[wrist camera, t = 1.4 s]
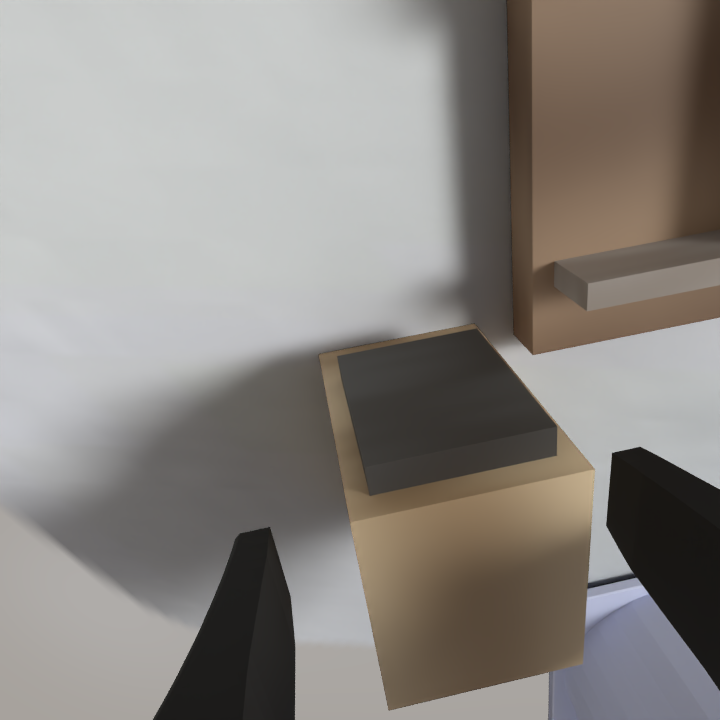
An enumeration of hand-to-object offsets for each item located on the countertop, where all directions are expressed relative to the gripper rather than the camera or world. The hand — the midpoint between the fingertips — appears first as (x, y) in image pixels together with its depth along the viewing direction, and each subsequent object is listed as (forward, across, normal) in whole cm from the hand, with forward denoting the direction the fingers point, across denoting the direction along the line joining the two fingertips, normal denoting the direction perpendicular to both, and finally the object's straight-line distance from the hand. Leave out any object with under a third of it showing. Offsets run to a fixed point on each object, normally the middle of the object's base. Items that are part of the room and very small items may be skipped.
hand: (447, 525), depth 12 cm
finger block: (+4, 0, 0) cm, 4 cm away
